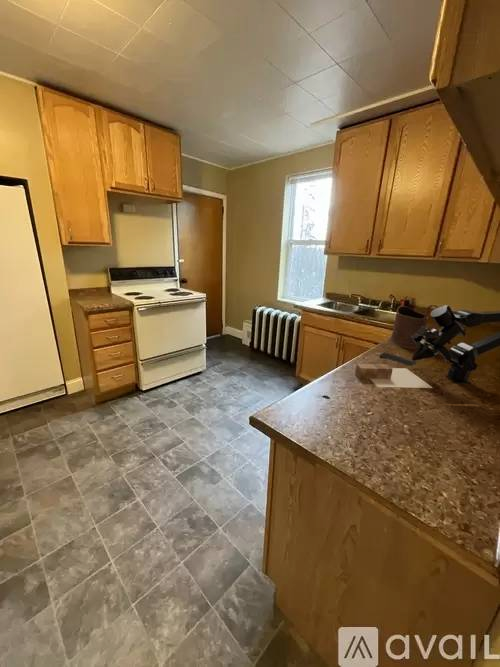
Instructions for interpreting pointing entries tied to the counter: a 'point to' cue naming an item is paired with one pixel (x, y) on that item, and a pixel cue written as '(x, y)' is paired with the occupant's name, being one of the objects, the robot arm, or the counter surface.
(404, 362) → the phone
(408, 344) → the brown hollow rounded container
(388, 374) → the walnut block
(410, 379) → the cutting board
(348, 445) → the counter surface
